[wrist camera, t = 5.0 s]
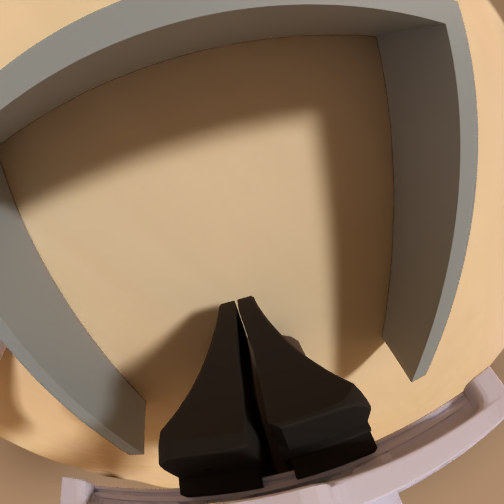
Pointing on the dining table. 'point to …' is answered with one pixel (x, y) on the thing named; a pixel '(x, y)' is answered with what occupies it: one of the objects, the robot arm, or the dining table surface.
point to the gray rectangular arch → (225, 33)
